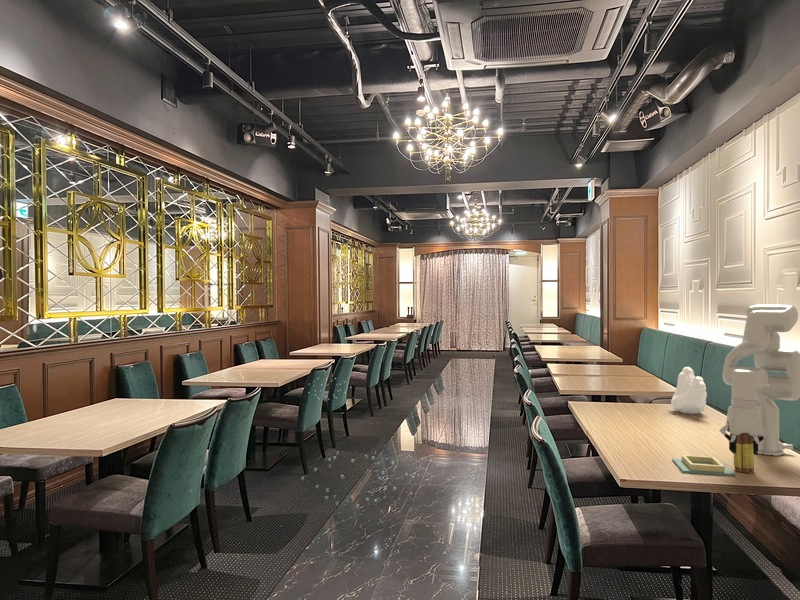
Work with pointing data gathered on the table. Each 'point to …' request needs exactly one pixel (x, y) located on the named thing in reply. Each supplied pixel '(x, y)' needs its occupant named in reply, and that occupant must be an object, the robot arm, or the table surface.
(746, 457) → the sauce bottle
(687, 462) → the teal board with frame
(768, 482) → the table surface
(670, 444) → the table surface
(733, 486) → the table surface
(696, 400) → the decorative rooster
